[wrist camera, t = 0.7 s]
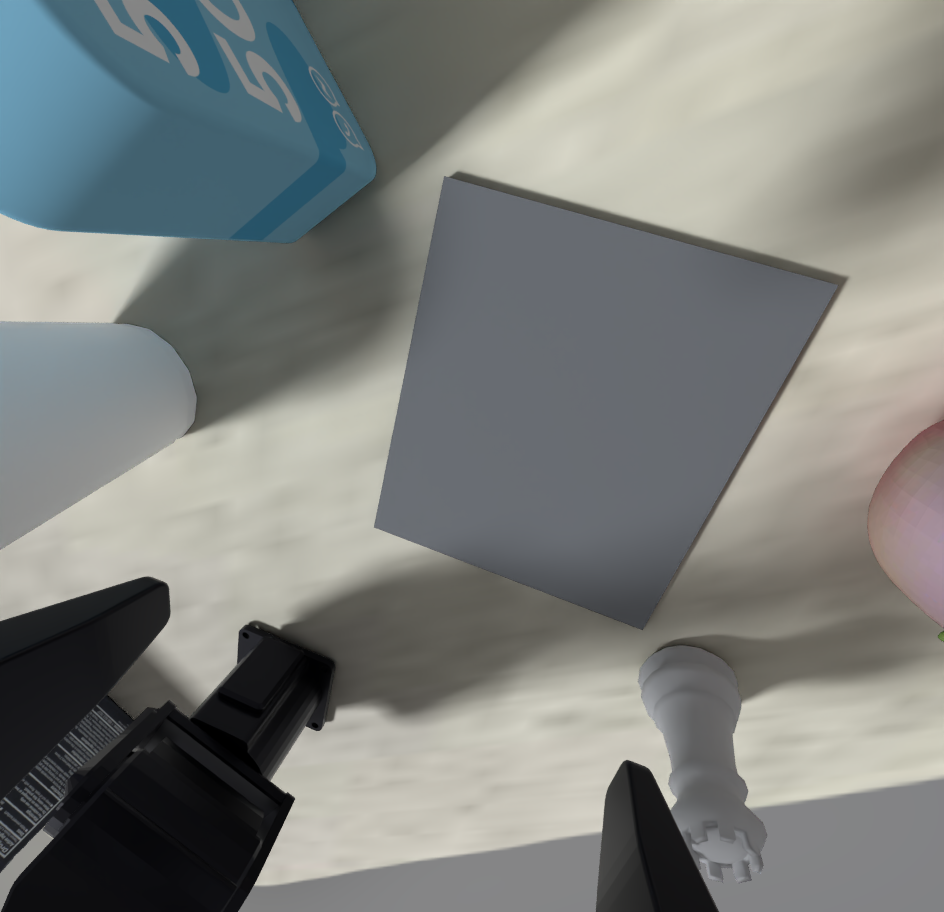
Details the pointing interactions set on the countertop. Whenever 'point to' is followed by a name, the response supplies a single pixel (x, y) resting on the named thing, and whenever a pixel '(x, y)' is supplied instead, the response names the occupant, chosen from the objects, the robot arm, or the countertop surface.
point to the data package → (172, 120)
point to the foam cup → (81, 412)
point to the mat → (581, 395)
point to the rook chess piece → (703, 757)
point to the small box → (55, 778)
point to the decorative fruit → (913, 522)
